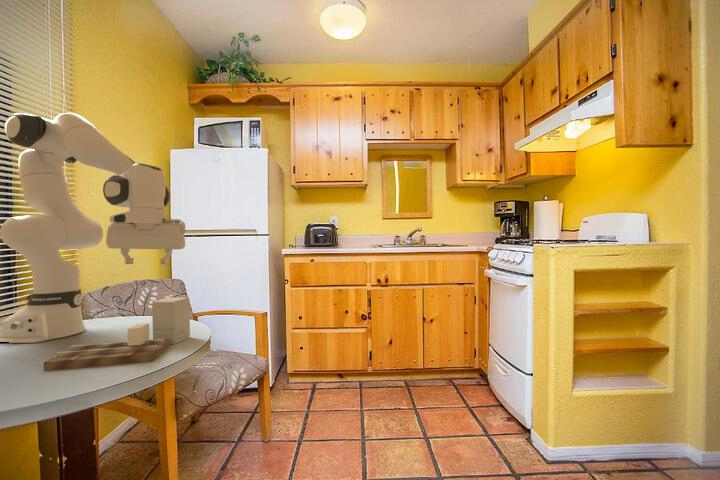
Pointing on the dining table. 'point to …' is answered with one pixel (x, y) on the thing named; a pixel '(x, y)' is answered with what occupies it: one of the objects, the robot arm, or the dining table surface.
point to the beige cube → (138, 335)
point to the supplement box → (171, 319)
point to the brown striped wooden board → (106, 354)
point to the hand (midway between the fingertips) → (146, 264)
